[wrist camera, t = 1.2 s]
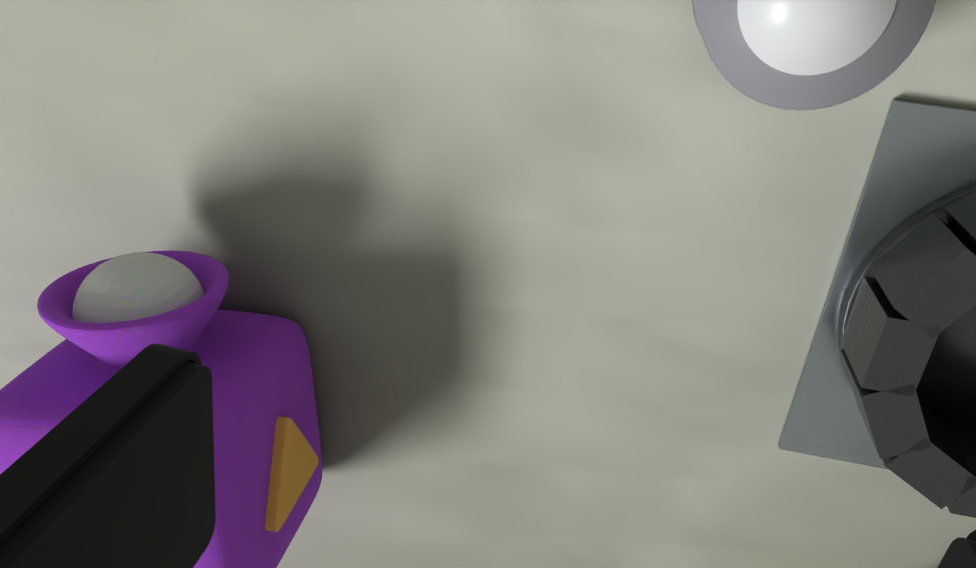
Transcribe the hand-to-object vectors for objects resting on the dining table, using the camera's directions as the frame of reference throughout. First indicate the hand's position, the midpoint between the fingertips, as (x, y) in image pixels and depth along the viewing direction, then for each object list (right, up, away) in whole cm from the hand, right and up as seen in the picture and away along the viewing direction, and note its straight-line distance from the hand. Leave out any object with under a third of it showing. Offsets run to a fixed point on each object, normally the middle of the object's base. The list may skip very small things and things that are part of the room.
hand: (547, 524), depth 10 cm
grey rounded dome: (+9, +12, +15) cm, 21 cm away
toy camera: (-13, 0, +25) cm, 28 cm away
